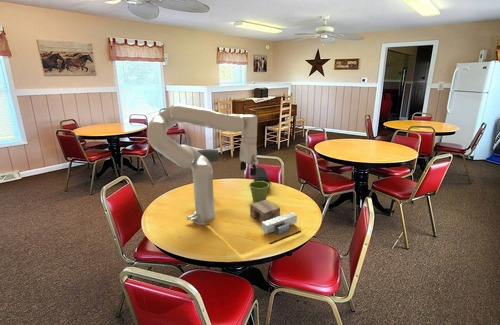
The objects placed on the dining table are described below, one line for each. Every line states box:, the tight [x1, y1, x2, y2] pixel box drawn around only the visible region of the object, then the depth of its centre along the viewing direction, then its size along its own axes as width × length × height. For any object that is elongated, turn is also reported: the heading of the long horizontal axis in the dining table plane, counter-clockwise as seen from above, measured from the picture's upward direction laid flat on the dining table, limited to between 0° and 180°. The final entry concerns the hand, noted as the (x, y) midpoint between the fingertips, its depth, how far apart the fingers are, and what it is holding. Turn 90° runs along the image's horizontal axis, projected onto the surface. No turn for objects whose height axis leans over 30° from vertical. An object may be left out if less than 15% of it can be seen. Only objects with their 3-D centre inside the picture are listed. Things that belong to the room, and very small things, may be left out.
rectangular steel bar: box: [261, 211, 298, 234], centre depth 135 cm, size 18×4×4 cm, turn 123°
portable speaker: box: [252, 166, 271, 189], centre depth 193 cm, size 26×10×10 cm, turn 3°
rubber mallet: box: [196, 148, 220, 165], centre depth 173 cm, size 12×8×30 cm, turn 93°
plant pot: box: [248, 181, 271, 203], centre depth 167 cm, size 12×12×11 cm
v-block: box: [269, 224, 302, 245], centre depth 136 cm, size 18×12×5 cm, turn 124°
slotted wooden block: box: [249, 199, 281, 224], centre depth 147 cm, size 10×12×8 cm
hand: (248, 172), depth 148 cm, fingers open, 9 cm apart
